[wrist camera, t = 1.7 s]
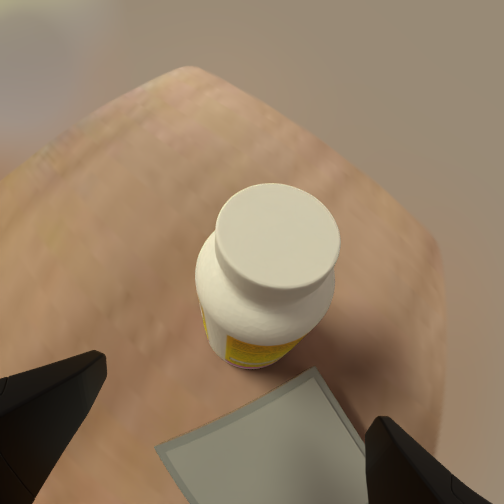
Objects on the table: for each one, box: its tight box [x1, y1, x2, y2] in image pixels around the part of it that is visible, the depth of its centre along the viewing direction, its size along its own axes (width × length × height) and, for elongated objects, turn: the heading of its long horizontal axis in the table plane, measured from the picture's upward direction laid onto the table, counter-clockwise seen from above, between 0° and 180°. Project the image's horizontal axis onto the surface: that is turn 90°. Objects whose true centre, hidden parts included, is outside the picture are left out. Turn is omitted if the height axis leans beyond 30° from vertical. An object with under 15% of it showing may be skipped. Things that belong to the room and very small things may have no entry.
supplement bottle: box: [195, 183, 341, 369], centre depth 16 cm, size 7×7×13 cm
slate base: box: [154, 366, 368, 504], centre depth 15 cm, size 12×12×2 cm
